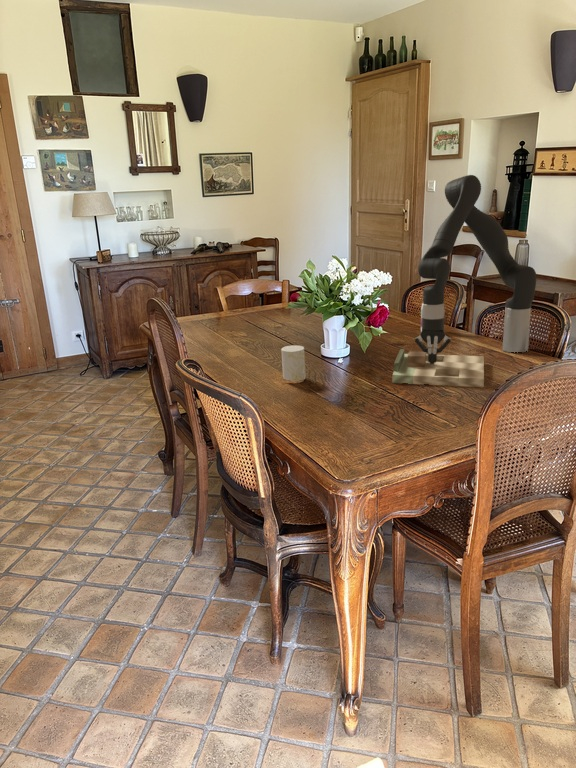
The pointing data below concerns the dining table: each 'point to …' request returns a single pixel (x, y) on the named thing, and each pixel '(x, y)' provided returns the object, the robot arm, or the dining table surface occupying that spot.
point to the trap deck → (441, 371)
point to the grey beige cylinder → (293, 363)
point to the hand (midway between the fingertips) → (432, 363)
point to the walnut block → (416, 359)
